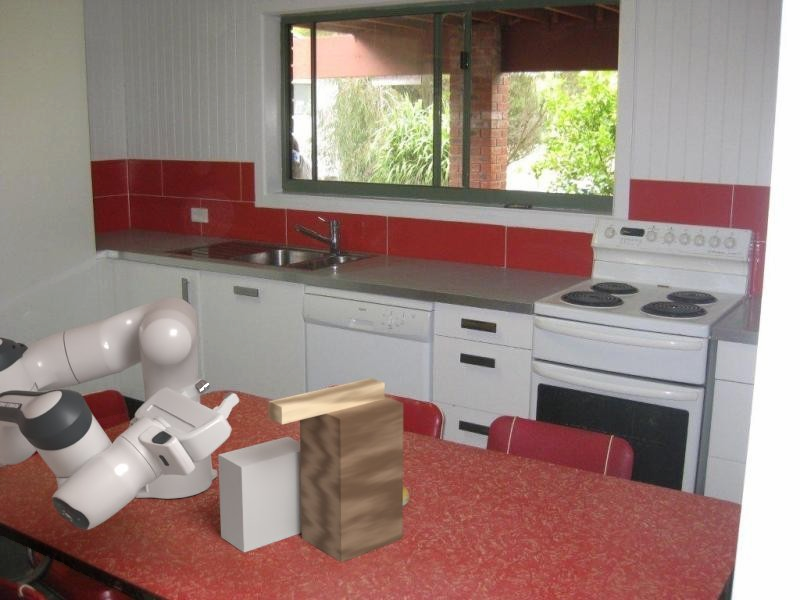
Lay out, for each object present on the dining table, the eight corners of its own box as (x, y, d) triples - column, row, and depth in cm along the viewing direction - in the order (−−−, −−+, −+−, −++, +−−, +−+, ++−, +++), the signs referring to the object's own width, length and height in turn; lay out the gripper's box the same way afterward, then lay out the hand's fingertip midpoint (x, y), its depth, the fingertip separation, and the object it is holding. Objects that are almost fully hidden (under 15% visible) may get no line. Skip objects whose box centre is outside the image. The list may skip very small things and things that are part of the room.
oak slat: (268, 418, 156) (268, 401, 155) (370, 393, 170) (370, 378, 169) (282, 424, 153) (281, 407, 152) (384, 398, 167) (384, 382, 166)
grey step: (221, 537, 170) (218, 454, 167) (289, 514, 179) (287, 436, 176) (244, 552, 164) (241, 467, 161) (313, 528, 174) (312, 447, 170)
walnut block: (301, 538, 169) (299, 402, 164) (361, 517, 178) (361, 388, 173) (341, 562, 161) (340, 419, 155) (402, 539, 170) (403, 403, 164)
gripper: (133, 441, 153) (198, 388, 159) (193, 478, 137) (262, 418, 144) (114, 413, 150) (180, 360, 156) (173, 448, 134) (244, 388, 141)
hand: (220, 388), depth 150 cm, fingers open, 8 cm apart
